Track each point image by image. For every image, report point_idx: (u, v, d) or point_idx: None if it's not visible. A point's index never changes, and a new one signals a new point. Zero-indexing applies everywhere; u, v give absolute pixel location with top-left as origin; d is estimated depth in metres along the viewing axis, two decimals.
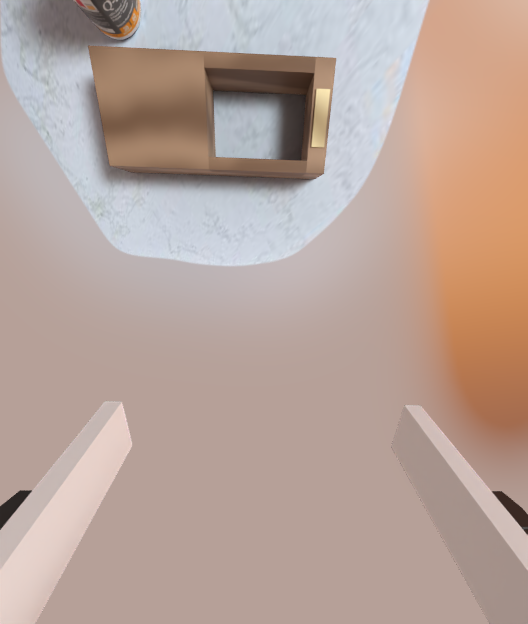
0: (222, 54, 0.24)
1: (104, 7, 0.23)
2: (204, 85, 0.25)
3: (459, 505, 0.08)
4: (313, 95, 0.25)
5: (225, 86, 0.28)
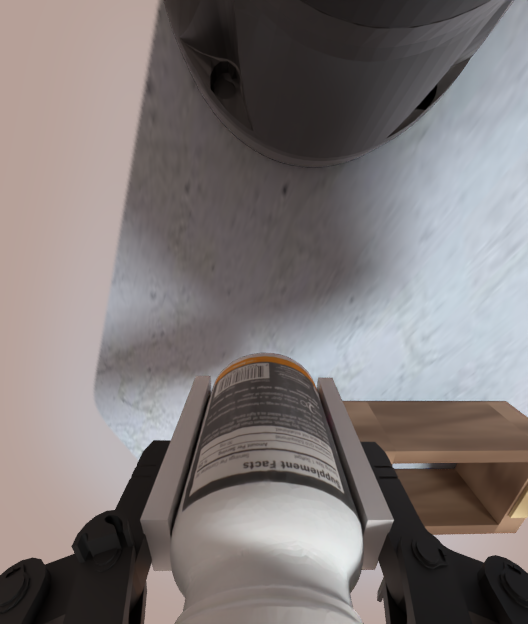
0: (421, 452, 0.17)
1: None
2: None
3: None
4: None
5: None
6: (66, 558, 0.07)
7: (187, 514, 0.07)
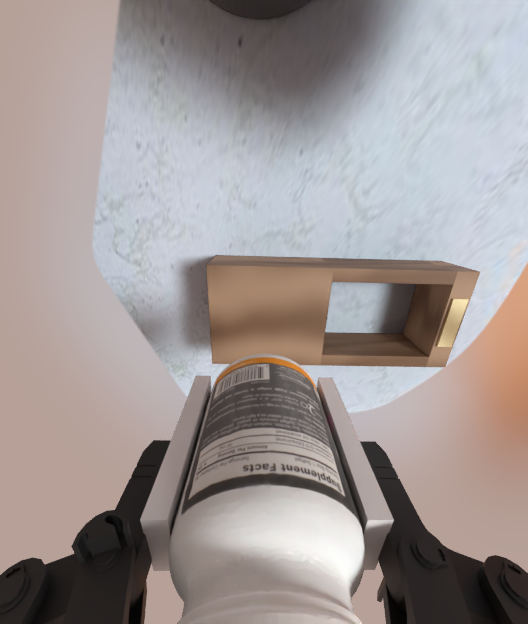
0: (354, 270, 0.21)
1: None
2: (328, 295, 0.22)
3: None
4: (447, 302, 0.23)
5: None
6: (66, 558, 0.07)
7: (186, 519, 0.06)
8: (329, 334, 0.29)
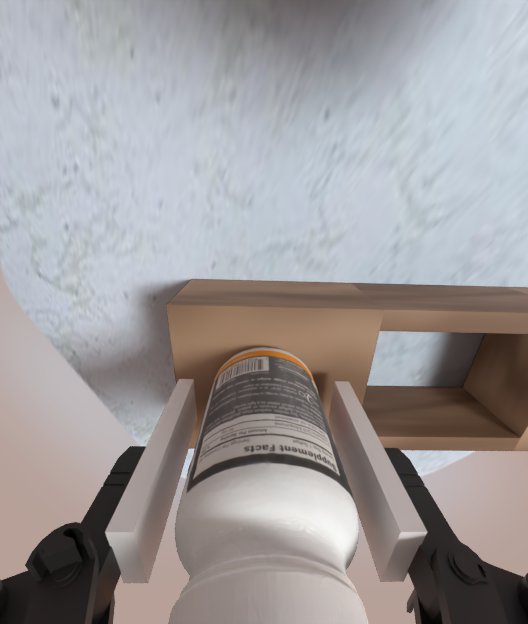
0: (418, 313, 0.13)
1: None
2: (372, 352, 0.14)
3: (358, 458, 0.10)
4: None
5: None
6: (26, 572, 0.06)
7: (192, 495, 0.07)
8: None
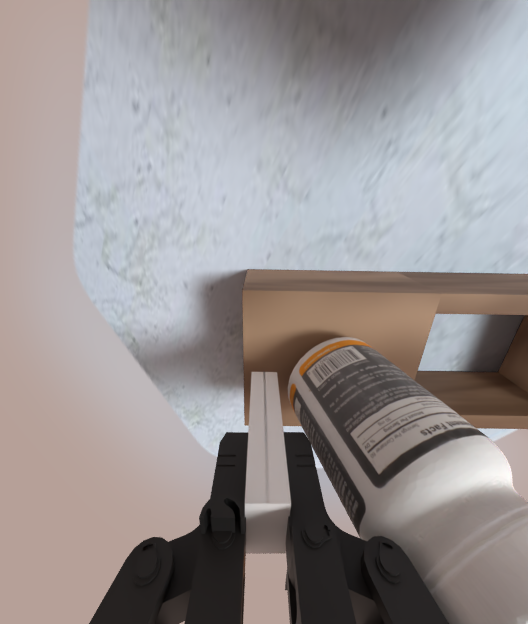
0: (473, 296, 0.14)
1: None
2: (426, 333, 0.15)
3: None
4: None
5: None
6: (180, 538, 0.07)
7: (394, 488, 0.07)
8: None
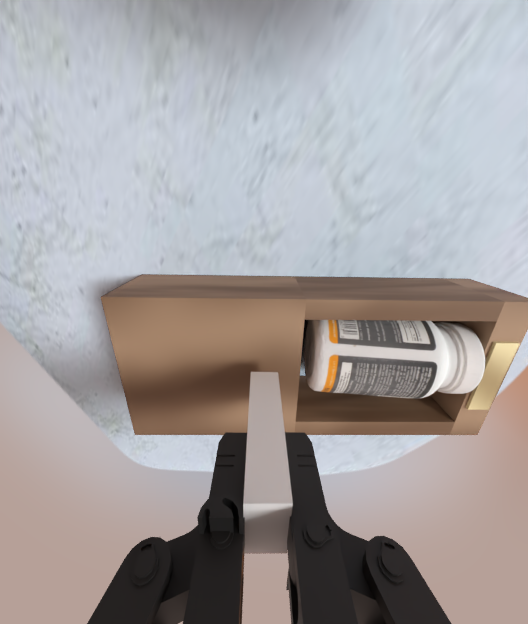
0: (339, 302, 0.13)
1: None
2: (301, 340, 0.14)
3: None
4: (486, 348, 0.15)
5: None
6: (178, 538, 0.07)
7: (438, 342, 0.14)
8: None
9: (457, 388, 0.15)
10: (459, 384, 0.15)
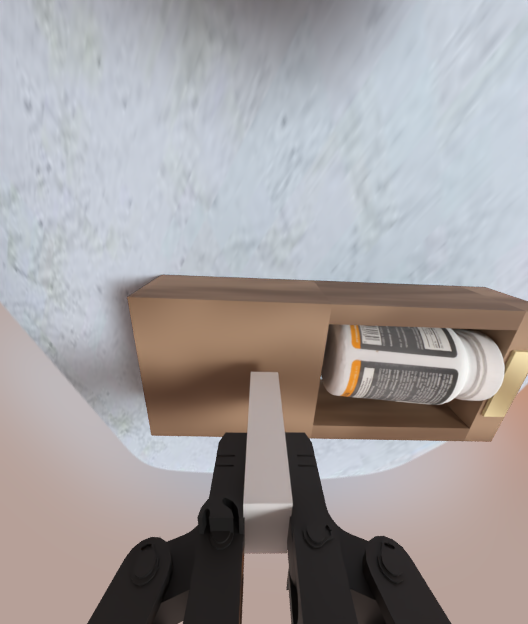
0: (364, 307, 0.14)
1: None
2: (323, 344, 0.14)
3: None
4: (505, 356, 0.15)
5: None
6: (178, 538, 0.07)
7: (459, 350, 0.14)
8: None
9: (475, 395, 0.15)
10: (478, 391, 0.15)
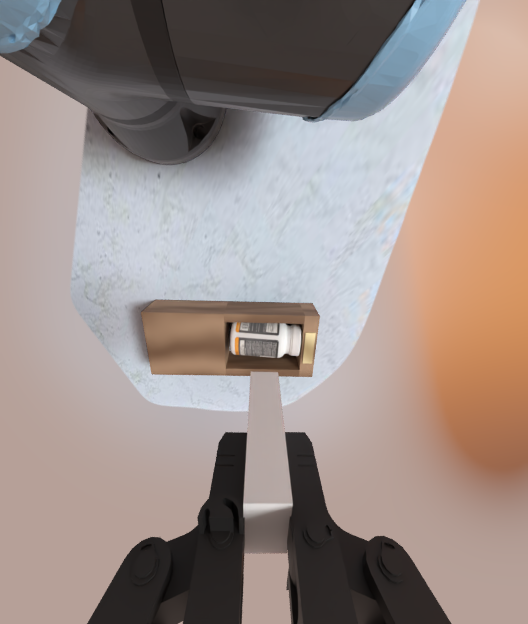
0: (237, 315, 0.33)
1: None
2: (223, 330, 0.34)
3: None
4: (303, 335, 0.34)
5: None
6: (178, 538, 0.07)
7: (280, 332, 0.34)
8: None
9: (292, 352, 0.35)
10: (291, 350, 0.34)
